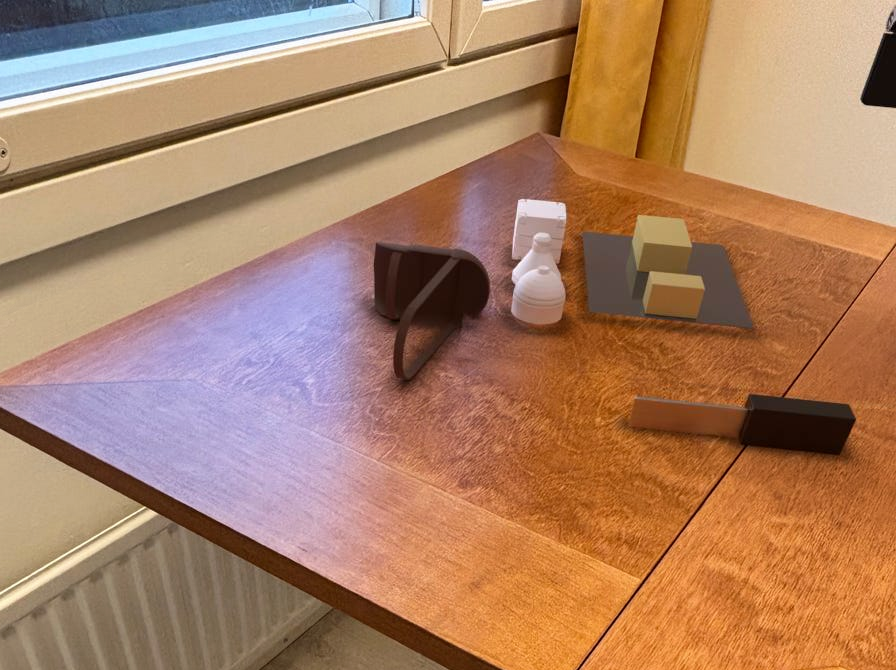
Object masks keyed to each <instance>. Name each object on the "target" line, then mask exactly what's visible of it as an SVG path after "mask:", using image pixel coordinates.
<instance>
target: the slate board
mask: <svg viewBox="0 0 896 670" xmlns="http://www.w3.org/2000/svg"><path fill="white" fill-rule="evenodd" d="M633 236H634V235H625V234H615V233H604V232H595V231H594V232H593V231H583V230H582V244H583V256H584V268H585V269H584V270H585V281H586V292H587V293H586V295H587V305H588V312H589V313H596V314H604V315H613V316H623V317H635V318H643V319H654V320H664V321H672V322H683V323H693V324H702V325H713V326H723V327H732V328H733V327H734V328H741V329H742V328H743V329H752V330H755V327H754V324H753V321H752V319H751V315H750V313H749V310H748V308H747V304H746V302H745V300H744V297H743V295H742V292H741V288H740V286H739V283H738V281H737V278H736V276H735V273H734V269H733V268H732V265H731V262H730V260H729V257H728V256H729V255H728V254H727V252H726V249H725V246H724V245H723V244H715V243H707V242H705V243H704V242H696V241H691V244H692V251H691V255H690V258H689V262H688V266H687V269H686V273H685V275H694V276H701V278H702V281H703V284H704V287H705V291H704V294H703V298H702V301H701V305H700V308H699V312H698V315H697V318H696V319H692V318H682V317H673V316H663V315H653V314H645V310H644V305H643V297H644V293H645V289H646V285H647V281H648V277H649V273H650V272H641V271H637V266H636V260H635V255H634V250H633V244H632V240H633Z"/></svg>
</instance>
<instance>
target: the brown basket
mask: <svg viewBox="0 0 896 670" xmlns="http://www.w3.org/2000/svg"><path fill="white" fill-rule="evenodd" d="M374 249H375V250H374V257H373V278H374V279H373V283H374V284H373V298H374V299H373V300H374V305H375V309H376V310H377V312H378V313H379V314H380V315H381V316H383V317H386V318H387V319H390V320H397V321H399V320H400V321H399V324H398V327H397V331H396V335H395V340H394V345H393V354H392V365H393V366H392V368H393V372H394V375H395V377H396V378H397V379H401V380H406V381H410V380H411V379H412V378H414V376H415V375H416V374H417V373H418V372H419V371H420V369H422V367H423V366H424V365H425V364H426V363H427V362H428V360H430V358H431V357H432V356H433V355H434V354H435V352H437V351H438V349H439V348H440V347H441V346H442V345H443V344H444V342H445V341H446V340H447V339H448V338H449V336H450V335H451V334H452V333H453V332H454V330H455V329H456V328H457V329H458V328H461V327H463V322H464V313H465V311H467V312H468V313H469V314H470V316H471V319H472V320H475V319H476V318H477V317H478V316H479V315H480V314H482V312H483V311H484V309H485V308H486V306H487V305H488V302H489V298H490V294H491V281H490V276H489V272H488V271H487V268H486V267H485V265H484V264H483V262H482V261H481V260H480V259H479V258H478V257H477V256H476V255H474V254H473V253H472V252H470V251H467V250H466V249H465V250H464V249H461V248H456V247H454V248H453V249H452V248H445V247H438V246H431V245H423V244H409V245H405V244H398V243H390V242H383V241H381V242H380V241H377V242H375V248H374ZM411 324H417V325H425V326H430V327H431V326H432V327H439V328H443V329H442V331H440V333H439V334H438V335H437V337H435V338H434V340H432V342H431V343H430V344H429V345H428V346H427V347H426V348H425V350H423V352H421V354H420V355H419V356H418V357H417V358H416V360H414V361H413V363H412V364H411V365H410V366H409V367H408V368H407V369H406V371H405V370H404V352H405V351H404V350H405V344H406V341H407V340H406V339H407V335H408V331H409V329H410V325H411Z"/></svg>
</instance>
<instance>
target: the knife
mask: <svg viewBox="0 0 896 670" xmlns="http://www.w3.org/2000/svg"><path fill="white" fill-rule="evenodd" d="M856 421H857V418H856V416H855V413H854V412H853V410H852V407H851V406H850V404H849V403H844V402H843V403H841V402H832V401H823V400H813V399H805V398H804V399H803V398H794V397H786V396H785V397H783V396H776V395H775V396H774V395H767V394H766V395H765V394H755V393H748V395H747V399H746V401H745V404H744V406H735V405H727V404H726V405H725V404H717V403H716V404H715V403H706V402H695V401H687V400H679V399H678V400H676V399H667V398H660V397H659V398H658V397H648V396H638V395H636V396H635V397H634V401H633V405H632V409H631V412H630V417H629V421H628V427H629V428H639V429H646V430H647V429H648V430H657V431H666V432H677V433H684V434H685V433H686V434H694V435H703V436H714V437H724V438H732V439H738V441H739V444H740V445H741V446H747V447H748V446H749V447H758V448H767V449H768V448H769V449H777V450H786V451H796V452H805V453H813V454H814V453H815V454H823V455H824V454H825V455H832V456H833V455H835V456H841V453H842V452H843V450H844V447H845V445H846V443H847V440H848V439H849V436H850V435H851V432H852V430H853V427H854V426H855V424H856Z"/></svg>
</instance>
